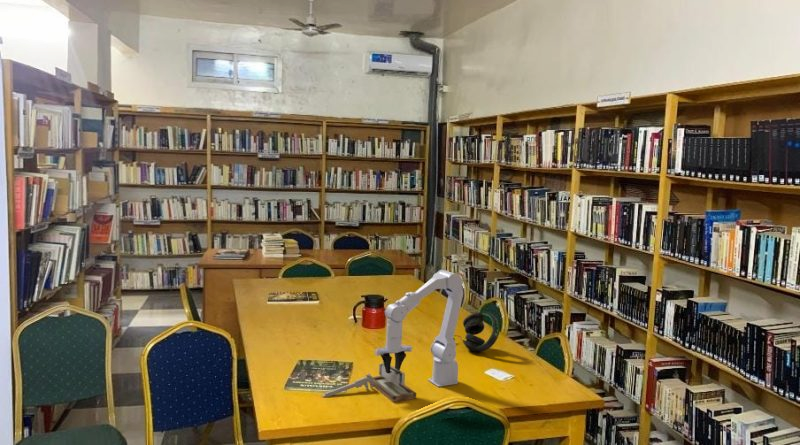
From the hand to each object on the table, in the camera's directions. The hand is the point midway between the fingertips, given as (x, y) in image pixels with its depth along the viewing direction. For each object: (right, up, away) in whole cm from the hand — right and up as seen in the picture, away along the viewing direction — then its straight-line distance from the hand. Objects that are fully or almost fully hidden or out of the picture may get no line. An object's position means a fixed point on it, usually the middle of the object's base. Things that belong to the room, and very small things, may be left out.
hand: (392, 371), depth 223 cm
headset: (+35, -4, +54) cm, 65 cm away
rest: (0, -7, +1) cm, 7 cm away
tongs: (0, -3, +1) cm, 3 cm away
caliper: (-16, -7, -3) cm, 18 cm away
